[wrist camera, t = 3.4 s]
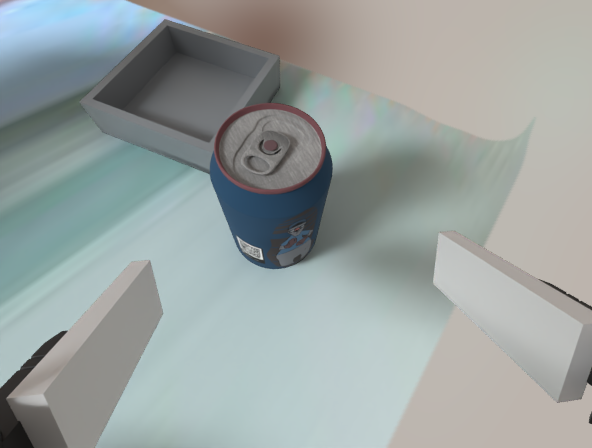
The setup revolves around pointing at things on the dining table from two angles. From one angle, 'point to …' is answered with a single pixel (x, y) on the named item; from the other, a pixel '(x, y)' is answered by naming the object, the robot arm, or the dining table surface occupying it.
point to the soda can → (271, 181)
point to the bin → (181, 91)
